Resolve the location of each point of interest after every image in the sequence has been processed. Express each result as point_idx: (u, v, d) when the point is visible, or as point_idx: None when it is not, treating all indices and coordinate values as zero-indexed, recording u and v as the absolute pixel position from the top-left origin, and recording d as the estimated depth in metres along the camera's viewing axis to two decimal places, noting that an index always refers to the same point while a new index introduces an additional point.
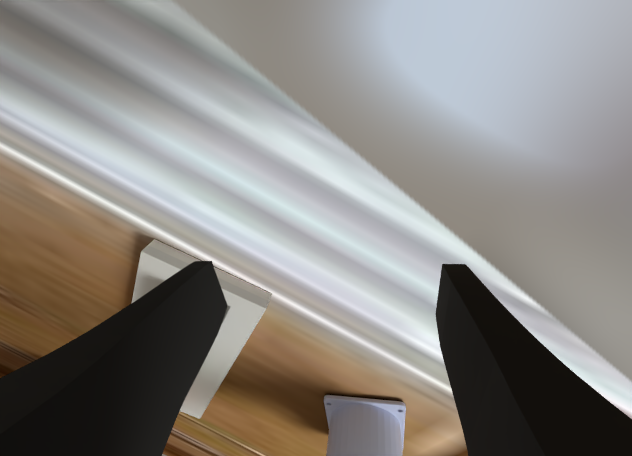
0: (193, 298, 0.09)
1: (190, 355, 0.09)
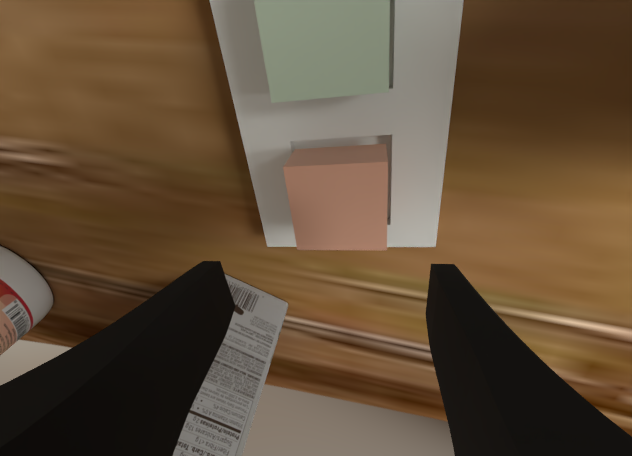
0: (202, 298, 0.09)
1: (199, 356, 0.09)
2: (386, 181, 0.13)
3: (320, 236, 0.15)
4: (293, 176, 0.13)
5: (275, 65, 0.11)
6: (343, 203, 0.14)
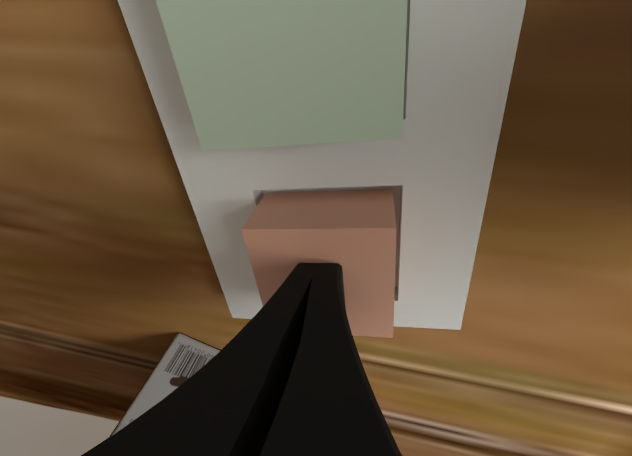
0: None
1: None
2: (393, 253, 0.09)
3: None
4: (257, 242, 0.09)
5: (200, 89, 0.06)
6: None
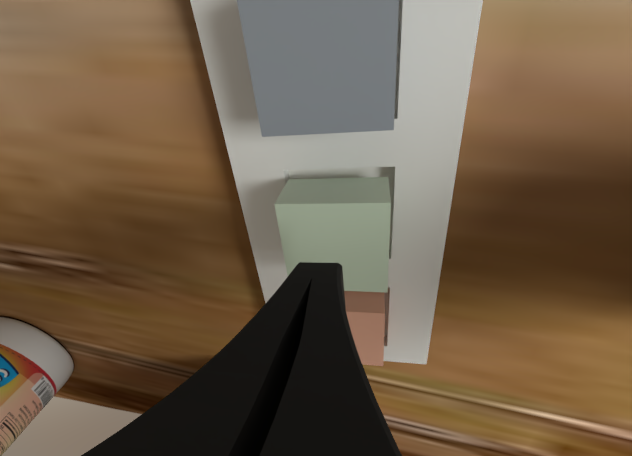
0: None
1: None
2: (383, 324, 0.16)
3: None
4: None
5: (294, 267, 0.13)
6: None
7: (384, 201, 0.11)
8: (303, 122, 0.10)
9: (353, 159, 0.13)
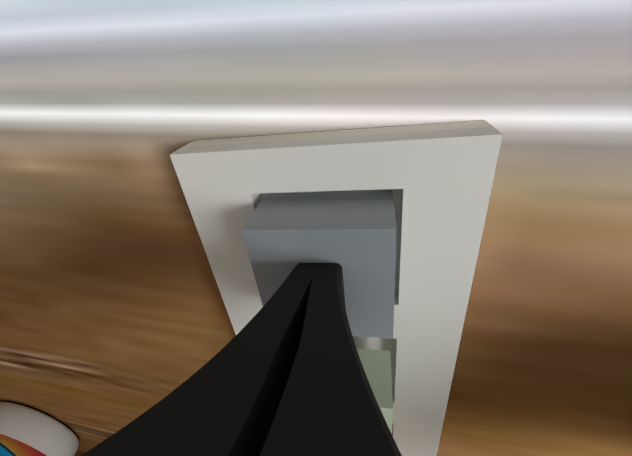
0: None
1: None
2: None
3: None
4: None
5: None
6: None
7: (386, 404, 0.11)
8: None
9: None
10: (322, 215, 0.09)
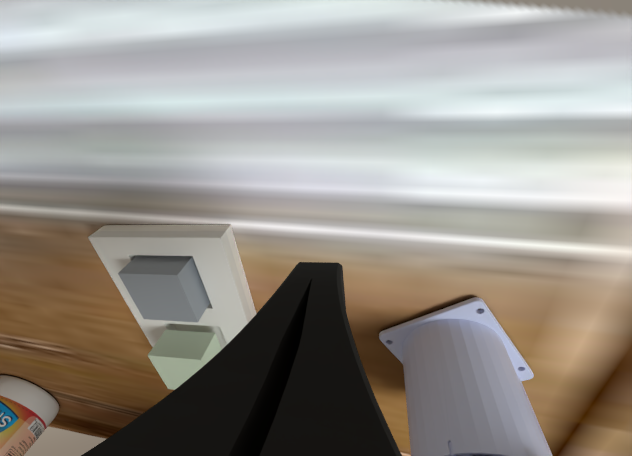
0: None
1: None
2: None
3: None
4: None
5: (167, 380, 0.25)
6: None
7: (198, 358, 0.22)
8: (159, 316, 0.22)
9: (198, 322, 0.24)
10: (155, 266, 0.21)
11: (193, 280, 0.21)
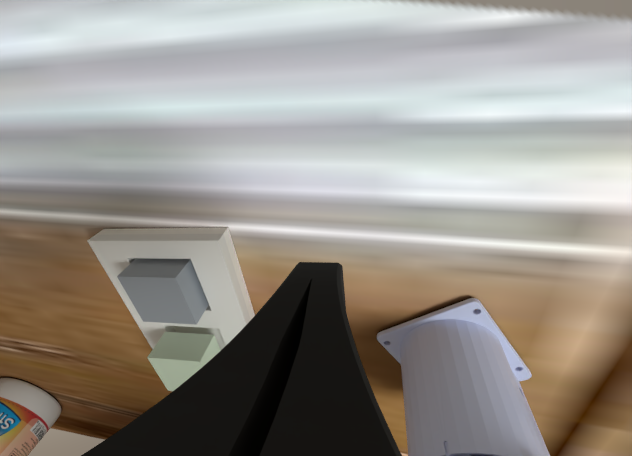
0: None
1: None
2: None
3: None
4: None
5: (166, 382, 0.25)
6: None
7: (197, 359, 0.23)
8: (159, 318, 0.22)
9: (197, 323, 0.25)
10: (153, 269, 0.21)
11: (191, 283, 0.22)
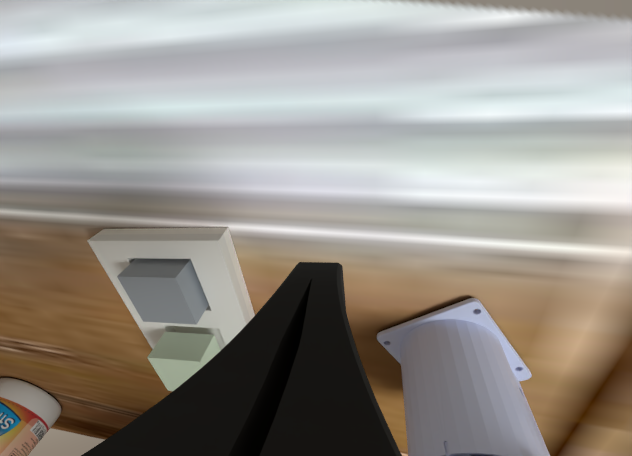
0: None
1: None
2: None
3: None
4: None
5: (166, 382, 0.25)
6: None
7: (197, 359, 0.23)
8: (159, 318, 0.22)
9: (197, 323, 0.25)
10: (153, 269, 0.21)
11: (191, 283, 0.22)
